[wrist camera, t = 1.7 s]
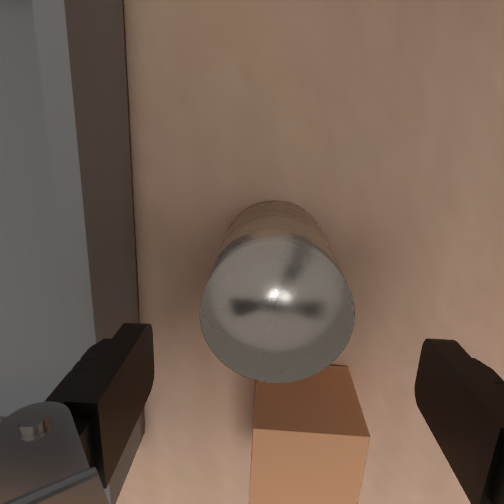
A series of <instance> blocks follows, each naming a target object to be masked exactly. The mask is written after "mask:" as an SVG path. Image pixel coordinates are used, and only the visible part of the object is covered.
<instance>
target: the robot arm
mask: <svg viewBox="0 0 504 504" xmlns="http://www.w3.org/2000/svg"><path fill="white" fill-rule="evenodd" d="M153 380H154V353H153V333H152V327H151V325H150V324H142V323H124V324H123V325H122V326H121V327H120V329H119V330H118V331H117V333H116V334H115V335H114V336H113V338H112V339H107V338H104V339H103V340H101V341H99V342H98V343H96V344H94V345H93V346H91V347H89V349H88V350H87V351H86V352H85V353H84V355H83V356H82V357H81V358H80V361H78V362H77V363H76V364H75V365H74V367H73V368H72V371H69V373H68V374H67V375H66V376H65V377H64V378H63V380H62V381H61V382H60V383H59V384H58V386H57V387H56V388H55V389H54V390H53V392H52V393H51V394H50V395H49V396H48V398H47V399H46V400H45V401H44V402H39V403H34V404H31V405H28V406H25V407H23V408H21V409H18V410H17V411H15V412H13V413H12V414H10V415H9V416H7V417H6V418H5V419H4V420H3V421H2V422H1V423H0V504H109V502H108V499H107V496H106V494H105V491H104V489H106V488H107V486H108V484H109V482H110V480H111V477H112V475H113V473H114V471H115V469H116V466H117V464H118V462H119V460H120V458H121V455H122V453H123V451H124V449H125V447H126V444H127V442H128V440H129V438H130V436H131V433H132V431H133V429H134V427H135V425H136V423H137V420H138V418H139V416H140V414H141V412H142V409H143V407H144V405H145V403H146V401H147V398H148V396H149V394H150V392H151V389H152V385H153ZM415 398H416V403H417V406H418V408H419V410H420V412H421V413H422V415H423V417H424V419H425V421H426V422H427V424H428V426H429V428H430V430H431V432H432V433H433V435H434V437H435V439H436V441H437V442H438V444H439V446H440V448H441V450H442V452H443V453H444V455H445V457H446V459H447V461H448V462H449V464H450V466H451V468H452V470H453V472H454V473H455V475H456V477H457V479H458V481H459V482H460V484H461V486H462V488H463V490H464V492H465V493H466V495H467V497H468V499H469V501H470V502H471V504H504V381H503V380H502V379H501V378H500V377H499V375H498V374H497V373H496V372H495V371H494V370H493V369H491V368H490V367H488V366H486V365H485V364H483V363H482V362H480V361H479V360H477V359H475V358H471V357H470V356H469V355H468V353H467V352H466V351H465V350H464V349H463V348H462V347H461V346H460V345H459V344H458V342H456V341H455V340H446V339H426V340H425V341H424V343H423V345H422V350H421V355H420V361H419V366H418V371H417V376H416V382H415Z"/></svg>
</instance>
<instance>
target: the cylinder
mask: <svg viewBox="0 0 504 504" xmlns="http://www.w3.org/2000/svg"><path fill="white" fill-rule="evenodd" d="M354 317H355V312H354V303H353V298H352V295H351V292H350V290H349V287H348V285H347V283H346V281H345V279H344V277H343V275H342V273H341V271H340V268H339V266H338V264H337V262H336V260H335V258H334V256H333V254H332V252H331V250H330V248H329V246H328V244H327V241H326V239H325V237H324V235H323V233H322V231H321V229H320V227H319V225H318V224H317V222H316V221H315V220H314V218H313V217H312V216H311V215H310V214H309V213H307V212H306V211H305V210H304V209H302V208H300V207H298V206H296V205H294V204H291V203H287V202H282V201H267V202H262V203H258V204H256V205H253V206H251V207H249V208H247V209H246V210H244V211H243V212H242V213H241V214H239V215H238V216H237V218H236V219H235V220H234V221H233V223H232V224H231V226H230V228H229V229H228V232H227V234H226V237H225V240H224V242H223V245H222V247H221V250H220V252H219V255H218V257H217V260H216V262H215V265H214V267H213V270H212V273H211V275H210V278H209V280H208V283H207V285H206V288H205V290H204V293H203V296H202V300H201V304H200V323H201V328H202V332H203V335H204V337H205V340H206V342H207V344H208V345H209V347H210V349H211V350H212V352H213V353H214V354H215V355H216V357H217V358H218V359H219V360H220V361H221V362H222V363H224V364H225V365H226V366H227V367H228V368H230V369H231V370H233V371H235V372H236V373H238V374H240V375H242V376H244V377H247V378H250V379H253V380H257V381H261V382H268V383H287V382H294V381H298V380H302V379H305V378H308V377H310V376H312V375H315V374H317V373H319V372H320V371H322V370H323V369H325V368H326V367H328V366H329V365H330V364H331V363H333V362H334V360H335V359H336V358H337V357H338V356H339V355H340V354H341V352H342V351H343V350H344V348H345V347H346V345H347V343H348V341H349V339H350V336H351V334H352V330H353V326H354Z"/></svg>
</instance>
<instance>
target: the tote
mask: <svg viewBox="0 0 504 504" xmlns="http://www.w3.org/2000/svg"><path fill="white" fill-rule="evenodd" d="M124 323H139V315H138V295H137V276H136V256H135V237H134V217H133V198H132V178H131V159H130V139H129V120H128V100H127V81H126V61H125V42H124V22H123V3H122V0H0V423H1V422H2V421H3V420H4V419H5V418H6V417H7V416H9V415H10V414H12V413H13V412H15V411H17V410H18V409H21V408H23V407H25V406H28V405H31V404H34V403H39V402H44V401H45V400H46V399H47V398H48V396H49V395H50V394H51V393H52V392H53V390H54V389H55V388H56V387H57V386H58V384H59V383H60V382H61V381H62V380H63V378H64V377H65V376H66V375H67V374H68V373H69V371H72V368H73V367H74V365H75V364H76V363H77V362H78V361H80V358H81V357H82V356H83V355H84V353H85V352H86V351H87V350H88V349H89V347H91V346H93V345H94V344H96V343H98V342H99V341H101V340H103V339H104V338H107V339H112V338H113V336H114V335H115V334H116V333H117V331H118V330H119V329H120V327H121V326H122V325H123V324H124ZM143 435H144V412H143V409H142V412H141V414H140V416H139V418H138V420H137V423H136V425H135V427H134V429H133V431H132V433H131V436H130V438H129V440H128V442H127V444H126V447H125V449H124V451H123V453H122V455H121V458H120V460H119V462H118V464H117V466H116V469H115V471H114V473H113V475H112V477H111V480H110V482H109V484H108V486H107V488H106V489H104V491H105V494H106V496H107V499H108V502H109V504H116V501H117V499H118V496H119V494H120V491H121V489H122V486H123V484H124V481H125V479H126V477H127V474H128V472H129V469H130V467H131V464H132V462H133V459H134V457H135V454H136V452H137V450H138V447H139V445H140V442H141V440H142V437H143Z"/></svg>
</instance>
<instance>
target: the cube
mask: <svg viewBox="0 0 504 504" xmlns="http://www.w3.org/2000/svg"><path fill="white" fill-rule="evenodd" d="M369 441H370V435H369V432H368V429H367V425H366V422H365V419H364V416H363V413H362V410H361V407H360V404H359V401H358V397H357V394H356V391H355V388H354V385H353V382H352V379H351V376H350V372H349V369H348V367H345V366H331V365H329V366H328V367H326V368H325V369H323V370H322V371H320V372H319V373H317V374H315V375H312V376H310V377H308V378H305V379H302V380H298V381H294V382H287V383H268V382H261V381H257V380H256V387H255V403H254V419H253V435H252V453H251V471H250V489H249V504H358V500H359V494H360V489H361V484H362V478H363V473H364V468H365V462H366V457H367V452H368V447H369Z"/></svg>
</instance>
